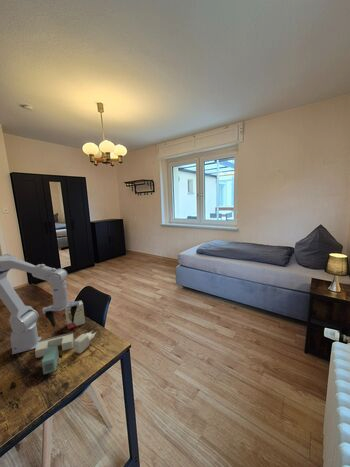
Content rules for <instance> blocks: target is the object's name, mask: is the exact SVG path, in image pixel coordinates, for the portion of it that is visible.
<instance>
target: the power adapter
mask: <svg viewBox="0 0 350 467" xmlns="http://www.w3.org/2000/svg"><path fill="white" fill-rule="evenodd" d="M93 332H94V330H91V331H89V332H86V333H81V334H80V335H78V336H77V337H76V338H74V341H73V350H74V353H77V354H79V355H80V354H82V353H83V352H84V351H85V350H87V349H88V348H89V346H90V341H92V340H93V339H94V338H95V335H96V334H98V331H95V332H94V333H93Z"/></svg>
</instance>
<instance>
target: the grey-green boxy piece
mask: <svg viewBox="0 0 350 467" xmlns="http://www.w3.org/2000/svg"><path fill="white" fill-rule="evenodd" d="M58 347H59V346H53V347H49V348H46V351H45V354H44V356H42V357H43V358H42V360H41V367H42V373H43V375H47V374H51V373H54V372H56V371H57V366H58V361H59V358H60V357H59V349H58Z"/></svg>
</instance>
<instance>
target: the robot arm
mask: <svg viewBox="0 0 350 467" xmlns="http://www.w3.org/2000/svg"><path fill="white" fill-rule="evenodd" d="M12 269H13V270H18V271H21V272H25V273H29V274H31V275H32V277H33V278H36V279H40V280H43V281H46V282H47V283H48V284H49V285H50V288H51V293H52V301H53V304H52V305H49V306H45V307H42V309H41V310H42V314H43V315H44V316H45V318H46V319H48V321H49V322H50V324H51V325H52V328H55V326H56V319H55V312H56V311H57V312H61V311H64V310H65V309H66V308H71V310H70V312H71V317H72V323H73V322H74V315H75V312H76V310H77V307H79V305H80V304H79V301H80V300H76V301H74V300H73V301H69V296H68V286H67V280H66V279H67V278H68V277H69V276H68V275H69V274H68V271H67V270H66V269H64V268H62V267H61V268H55V267H50V266H47V265H46V264H44V263H41V264H40V263H39V264H37V265H34V264H32V263H30V262H27V261H24V260H22V259H20V258H17V257H16V255H11V254H10V253H9V254H8V253H5V254H2V255H0V300H1V302H2V304H4V305H5V307H6V308H7V310H8V311H9V312H10V316H9V319H8V322H9V324H10V328H11V330H12V331H11V333H10V340H9V341H10V345H11V355H15V354H19V353H23V352H27V351H32V350H34V349H36V347H37V344H38V341H39V340H42V336H39V335H38V328H37V323H38V322H37V321H38V320H39V318H40V317H39V312H38V311H37V310H35V309H34V308H33V307H32V306H31V305H25V303H24V302H23V301H22V299H21V297H20V296H19V294H18V292H16V290H15V288H14V287H13V286H12V284H11V283H10V281H9V280H8V279H7V275H8V273H9V272H10V271H11V270H12Z"/></svg>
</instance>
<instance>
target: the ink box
mask: <svg viewBox="0 0 350 467" xmlns="http://www.w3.org/2000/svg"><path fill="white" fill-rule="evenodd" d="M78 301H79V304H80V305H79V307H77V310H76V312H75V315H74V322H73V323H72V317H71V312H70V310H71V308H66V309H64V310H65V312H64V313H65V320H66V326H67V329H68V330H70V329H73V328H75V327H79V326H82V325H85V323H86V318H85V310H84V309H85V308H84V303H83V301H82V300H78Z"/></svg>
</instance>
